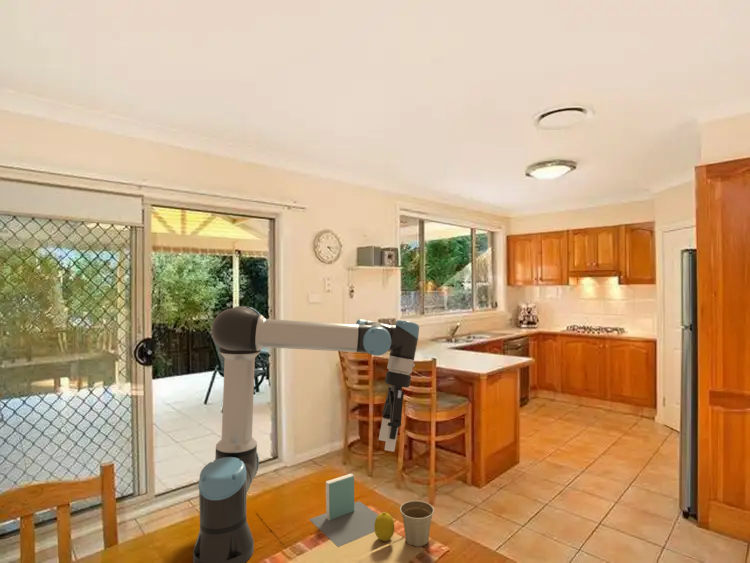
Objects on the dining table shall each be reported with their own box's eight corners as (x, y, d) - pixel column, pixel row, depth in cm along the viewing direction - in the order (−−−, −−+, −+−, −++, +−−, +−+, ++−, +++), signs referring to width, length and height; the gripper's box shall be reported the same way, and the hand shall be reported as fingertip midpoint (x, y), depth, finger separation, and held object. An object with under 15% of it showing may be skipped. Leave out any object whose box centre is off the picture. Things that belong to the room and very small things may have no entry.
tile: (329, 521, 129) (329, 483, 129) (326, 518, 131) (325, 481, 131) (355, 511, 134) (354, 475, 134) (351, 508, 136) (351, 473, 136)
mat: (338, 549, 116) (338, 546, 116) (309, 521, 130) (309, 519, 130) (391, 526, 127) (391, 524, 127) (359, 502, 141) (359, 500, 141)
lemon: (392, 548, 116) (392, 518, 116) (372, 546, 117) (372, 516, 117) (396, 536, 122) (395, 508, 122) (376, 534, 123) (376, 506, 123)
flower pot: (441, 540, 120) (441, 509, 120) (419, 555, 113) (418, 522, 113) (415, 526, 127) (415, 497, 127) (393, 540, 120) (392, 509, 120)
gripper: (420, 377, 119) (406, 458, 115) (404, 372, 143) (392, 439, 139) (393, 372, 118) (378, 453, 114) (381, 368, 143) (369, 434, 139)
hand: (385, 445), depth 127 cm, fingers open, 13 cm apart
